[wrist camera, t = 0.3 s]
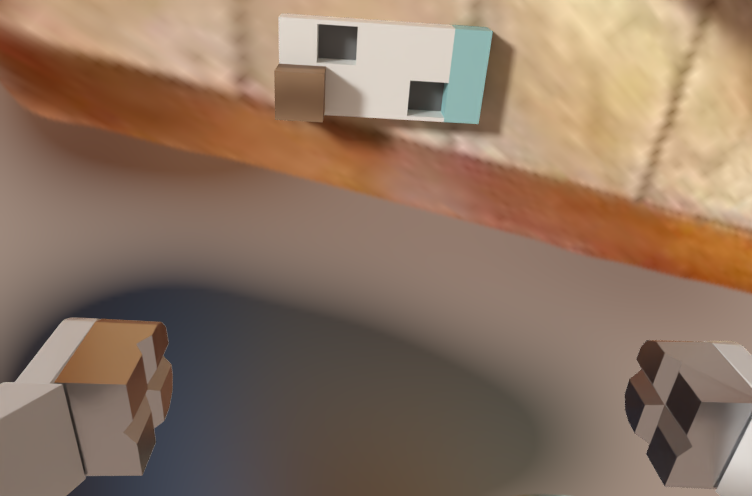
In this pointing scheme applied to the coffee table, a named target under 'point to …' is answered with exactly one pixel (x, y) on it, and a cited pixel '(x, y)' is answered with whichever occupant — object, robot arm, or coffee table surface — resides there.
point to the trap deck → (392, 66)
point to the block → (300, 92)
